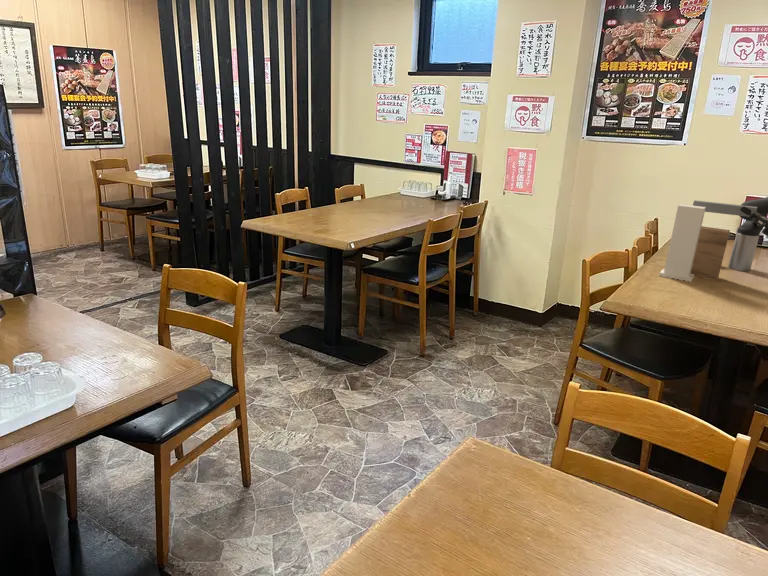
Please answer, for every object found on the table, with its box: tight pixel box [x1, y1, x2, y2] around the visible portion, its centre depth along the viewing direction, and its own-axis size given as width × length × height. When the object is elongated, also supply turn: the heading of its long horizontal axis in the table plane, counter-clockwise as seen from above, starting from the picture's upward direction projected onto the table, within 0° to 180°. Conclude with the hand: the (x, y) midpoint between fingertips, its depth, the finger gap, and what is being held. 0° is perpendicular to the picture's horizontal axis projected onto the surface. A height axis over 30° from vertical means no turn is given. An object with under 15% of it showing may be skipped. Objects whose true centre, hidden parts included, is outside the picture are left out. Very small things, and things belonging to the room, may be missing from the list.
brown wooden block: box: [691, 225, 731, 281], centre depth 255 cm, size 6×18×22 cm, turn 55°
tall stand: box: [659, 203, 706, 283], centre depth 249 cm, size 9×13×32 cm
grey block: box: [692, 199, 757, 217], centre depth 246 cm, size 4×24×4 cm, turn 55°
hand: (742, 207), depth 242 cm, fingers closed on grey block, 4 cm apart
